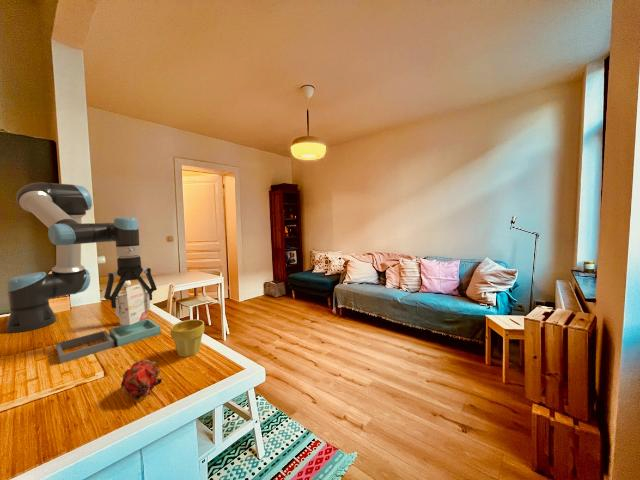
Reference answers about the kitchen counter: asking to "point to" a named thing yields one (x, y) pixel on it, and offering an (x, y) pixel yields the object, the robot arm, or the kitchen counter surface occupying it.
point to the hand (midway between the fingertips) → (133, 311)
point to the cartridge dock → (84, 351)
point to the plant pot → (187, 336)
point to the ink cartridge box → (132, 305)
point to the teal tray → (134, 332)
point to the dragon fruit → (140, 378)
